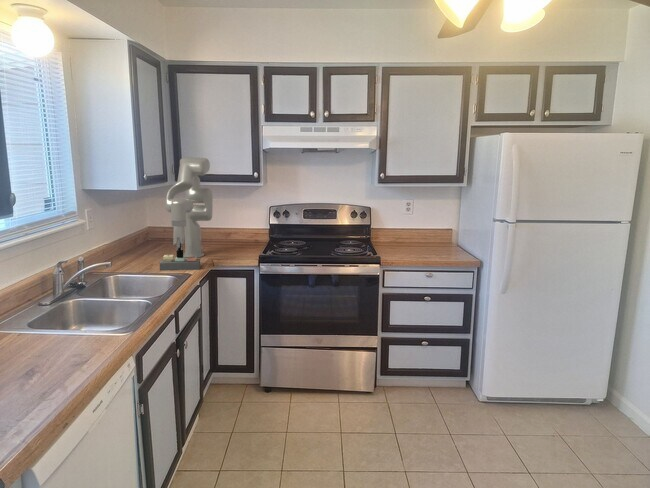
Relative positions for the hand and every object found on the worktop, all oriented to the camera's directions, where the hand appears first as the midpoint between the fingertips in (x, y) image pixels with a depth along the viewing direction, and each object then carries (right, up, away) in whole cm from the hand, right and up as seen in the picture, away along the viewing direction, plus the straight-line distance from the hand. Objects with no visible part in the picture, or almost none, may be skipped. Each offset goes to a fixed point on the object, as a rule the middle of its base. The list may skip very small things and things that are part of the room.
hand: (180, 257), depth 230 cm
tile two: (0, -5, +1) cm, 5 cm away
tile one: (-6, -4, -1) cm, 7 cm away
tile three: (+6, -5, +2) cm, 8 cm away
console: (0, -6, +1) cm, 6 cm away
